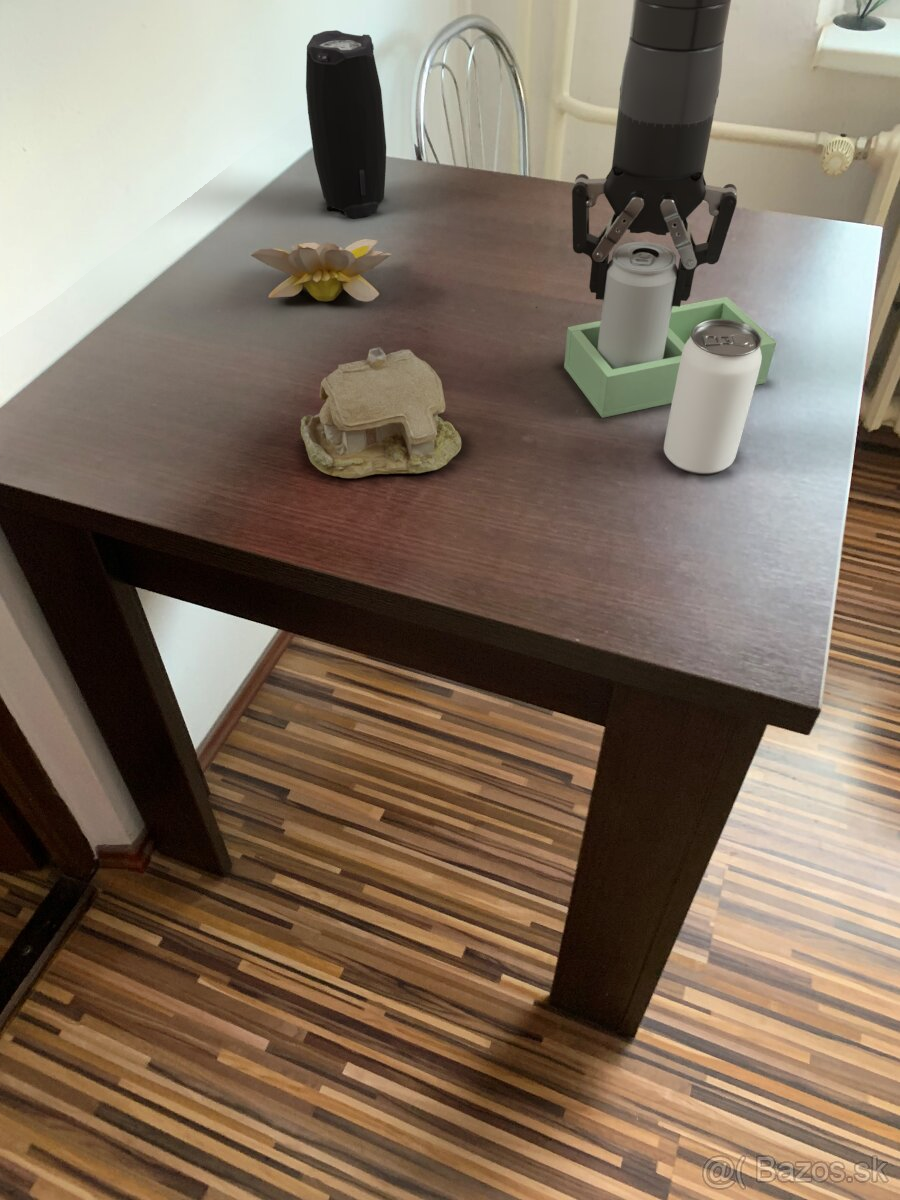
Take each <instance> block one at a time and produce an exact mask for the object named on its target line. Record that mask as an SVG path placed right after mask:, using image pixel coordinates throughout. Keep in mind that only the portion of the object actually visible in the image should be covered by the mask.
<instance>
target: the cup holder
mask: <svg viewBox="0 0 900 1200" xmlns="http://www.w3.org/2000/svg"><path fill="white" fill-rule="evenodd" d="M713 319H728V320H734V321H738V322H741V323H744V324H747V325H749V326H750V327H752V328H754V329H755V330H756V331H757V332H758V333H759V335H760V336H761V345H760V350H761V354H762V360H761V365H760V370H759V373H758V377H757V381H756V385H755V386H758V385H763V384H766V381H767V377H768V375H769V371H770V367H771V363H772V360H773V356H774V353H775V349H776V346H777V341H776V340H775V339H773V337H771V336H770V335H769V334H768V333H767V332H766V331H765V330H764V329H763V328H762V327H761V326H759V325H758V324H757V323H756V322H755V321H754V320H753V319H752V318H751V317H750V316H749V315H748V314H746V313H745V311H743V310H742V309H741V308H740V307H739V306H738V305H737V304H735V303H734V302H733V301H732V300H731V299H730V298H729V297H728V296H724V297H718V298H714V299H707V300H703V301H698V302H692V303H686V304H680V307H677V306H672V310H671V316H670V322H669V327H668V333H667V339H666V344H665V350H664V356H663V359H662V360H657V361H652V362H647V363H642V364H637V365H632V366H627V367H622V368H617V369H612V368H611V367H610V366H609V365H608V363H607V362H606V361H605V360H604V358H603V357H602V356H601V355H600V354H599V352H598V351H597V349H598V340H599V331H600V322H601V320H597V321H591V322H587V323H586V322H585V323H581V324H577V325H572V326H571V325H570V326H568V327H567V329H566V330H567V331H566V342H565V352H564V353H565V355H564V364H563V368H564V369H565V371H566V372H567V373H568V375H569V376H570V378H571V379H572V380H573V382H574V383H575V384H576V385H577V386H578V388H579V389H580V390H581V392H582V393H583V394H584V396H585V397H586V399H587V400H588V401H589V402H590V404H591V405H592V406H593V408H594V409H595V411H596V412H597V414H599V416H600V417H601V418H602V419H603V418H608V417H613V416H618V415H622V414H628V413H632V412H637V411H642V410H646V409H651V408H655V407H660V406H664V405H665V406H666V405H670V404H672V400H673V395H674V390H675V385H676V380H677V375H678V370H679V365H680V360H681V355H682V351H683V348H684V345H685V343H686V342H687V341H688V339H689V338H690V337H691V331H692V329H693V328H694V327H695V326H696V325H697V324H699V323H701V322H704V321H707V320H713Z"/></svg>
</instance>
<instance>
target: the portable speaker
mask: <svg viewBox="0 0 900 1200" xmlns="http://www.w3.org/2000/svg"><path fill="white" fill-rule="evenodd" d="M374 50H375V45H374V43H373V40H372V37H371V35H370V34H362V35H360V34H359V35H357V34H351V33H346V32H342V31H341V30H337V29H335V30H325V31H321V32H318V33H316V34H313V35H312V37H311V38H310V40H309V41H308V43H307V45H306V66H305V67H306V68H305V94H306V104H307V115H308V122H309V123H308V124H309V129H310V137H311V143H312V144H311V146H312V151H313V152H312V153H313V158H314V159H313V160H314V164H315V168H316V172H317V176H318V180H319V181H318V182H319V185H320V189H321V192H322V196H323V199H324V201H325V205H326V206H325V207H326V211H332V210H333V209H335V210H338V211H340V212H343V213H344V214H345V216H346V217H347V218H351V219H359V218H364V217H368V216H371V215H374V214H376V213H377V210H378V208H379V206H380V204H381V203H382V202H383V200H384V199H385V188H386V187H385V186H386V169H387V138H386V128H385V127H386V126H385V116H384V105H383V93H382V87H381V82H380V77H379V72H378V68H377V64H376V63H377V62H376V59H375V54H374V53H375V52H374Z"/></svg>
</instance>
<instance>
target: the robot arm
mask: <svg viewBox="0 0 900 1200" xmlns="http://www.w3.org/2000/svg"><path fill="white" fill-rule="evenodd" d="M731 4H732V0H633V4H632V11H631V22H630V31H629V39H628V44H627V49H626V50H627V51H626V53H625V58H624V63H623V65H622V66H623V67H622V74H621V82H620V87H619V99H618V109H617V116H616V117H617V119H616V126H615V136H614V144H613V154H612V162H611V163H612V165H611V168H610V171H609V172H608V174H607V175H606V177H605V178H590V177H589V176H588V175H587V174H585V173H580V174H578V175H577V176H576V177H575V180H574V183H573V186H572V191H571V210H572V212H571V213H572V214H571V216H572V218H571V221H572V250H573V252H574V253H576V254H578V255H579V254H584V255H587V256H588V257H590V260H591V266H590V267H591V268H590V277H589V292H590V293H593V294H595V300H600V301H603V296H604V288H605V279H606V270H607V265H608V263H609V257H610V252H611V251H612V250H613V249H614V247H615V245H617V244H618V243H619V241H620V240H621V239H622V237H624V235H625V233H626V232H627V230H628V231H629V233H630V234H642V233H643V234H644V233H651V234H654V235H656V236H667V234H669V235H670V237H671V240H672V242H673V245H674V248H675V249H676V250H677V253H678V255H679V261H678V266H677V268H678V276H677V282H676V288H675V293H674V299H673V304H672V307H676V306H677V307H680V306H681V305H682V302H687V301H688V299H690V296H691V292H692V287H693V282H694V276H695V271H696V269H697V268H698V267H699V266H701V265H704V264H708V265H715V264H717V263H718V262H719V261H720V257H721V254H722V251H723V248H724V244H725V242H726V239H727V235H728V232H729V229H730V226H731V223H732V220H733V217H734V213H735V210H736V207H737V204H738V193H737V190H738V189H737V187H736V185H734V184H733V183H728V184H725V185H724V186H723V187H721V186H714V185H708V184H707V183H706V180H705V177H704V172H705V171H704V170H705V164H706V160H707V156H708V155H707V154H708V149H709V144H710V139H711V134H712V133H711V132H712V126H713V120H714V116H715V111H716V105H717V101H718V97H719V93H720V83H721V77H722V68H723V53H724V52H723V51H724V43H725V37H726V32H727V25H728V20H729V14H730V9H731ZM603 194H604V196H605V198H606V200H607V202H608V203H609V205H610V207H611V209H612V210H613V213H612V214H611V216H610V218H609V219H608V221H607V222H606V225H605V226H604V228H603V229H602V231H601V232H600V233H599V235H598V236H596V235H593V234H592V233H590V208H593V207H595V205H596V204H597V200H598V198H599V196H601V195H603ZM703 201H705V202H706V203H707V204H708V213H709V215H710V216H711V217H713V219H712V222H711V225H710V229H709V232H708V235H707V237H706V238H707V240H706V242H702V243H699V244H697V243H696V240H695V238H694V234H693V232H692V226H691V223H690V220H689V218H688V217H689V216H690V215H691V214H692V213H693V212H694V211H695V210H696V209H697V208H698V207H699V206H700V205H701V204H702V203H703Z"/></svg>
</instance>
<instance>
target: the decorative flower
mask: <svg viewBox="0 0 900 1200" xmlns="http://www.w3.org/2000/svg"><path fill="white" fill-rule="evenodd" d="M378 242H379V241H378V240H376V239H370V238H364V239H359V240H356V241H354V242H353V243H350V244H349V245H347V246H346V247H345V248H344V249H343V247H339V246H338V245H336V244H335V243H333V242H324V243H321V244H319V243H317V242H304V243H299V244H293V245H292V247H291V252H288V251H286V250H283V249H280V248H260V249H258V250H257V251H255V252H253V253H252V254H251V255H250V256H251V257H252V258H254V259H256V260H258V261H259V262H261V263H263V264H264V265H266V266H269V267H271V268H273V269H275V270H278V271H280V272H282V273H285V274H287V275H290V276H289V277H287V278H286V279H285V280H283V281H282V282H281V283H279V284H278V285H277V286H276V287H275V288H273V290H271V292H270V293H269V294H268V298H283V297H284V298H285V297H295V296H296V295H298V294H299V293H300V292H301V291H302V290H303V288H305V289H306V290H307V292H308V293H309V294H310V296H311V297H312V298H314V299H315V300H317V301H319V302H324V303H326V302H331V301H332V302H333V301H334V300H335V299H336V298H337V297H338V296H339V295H340V294H341V293H342V292H343V290H344V291H345V292H346V293H348V295H349V296H351V297H352V298H354V299H355V300H357V301H360V302H372V301H374V300H375V299H376V298H378V296H379V295H380V292H379V291H378V290H377V289H376V288H375V287H374V286H373V285H372V284H371V283H369V281H367V280H366V279H365V278H364V277H363V276H361V275H362V274H364V273H366V272H368V271H370V270H373V269H374V268H375V267H377V266H379V265H380V264H381V263H382V262H384V261H385V260H386V259H388V258H389V257H391V256H392V253H390V252H386V253H384V252H383V251H380V250H373V249H374V247H375V246H376V245H377V244H378ZM372 250H373V251H372Z"/></svg>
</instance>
